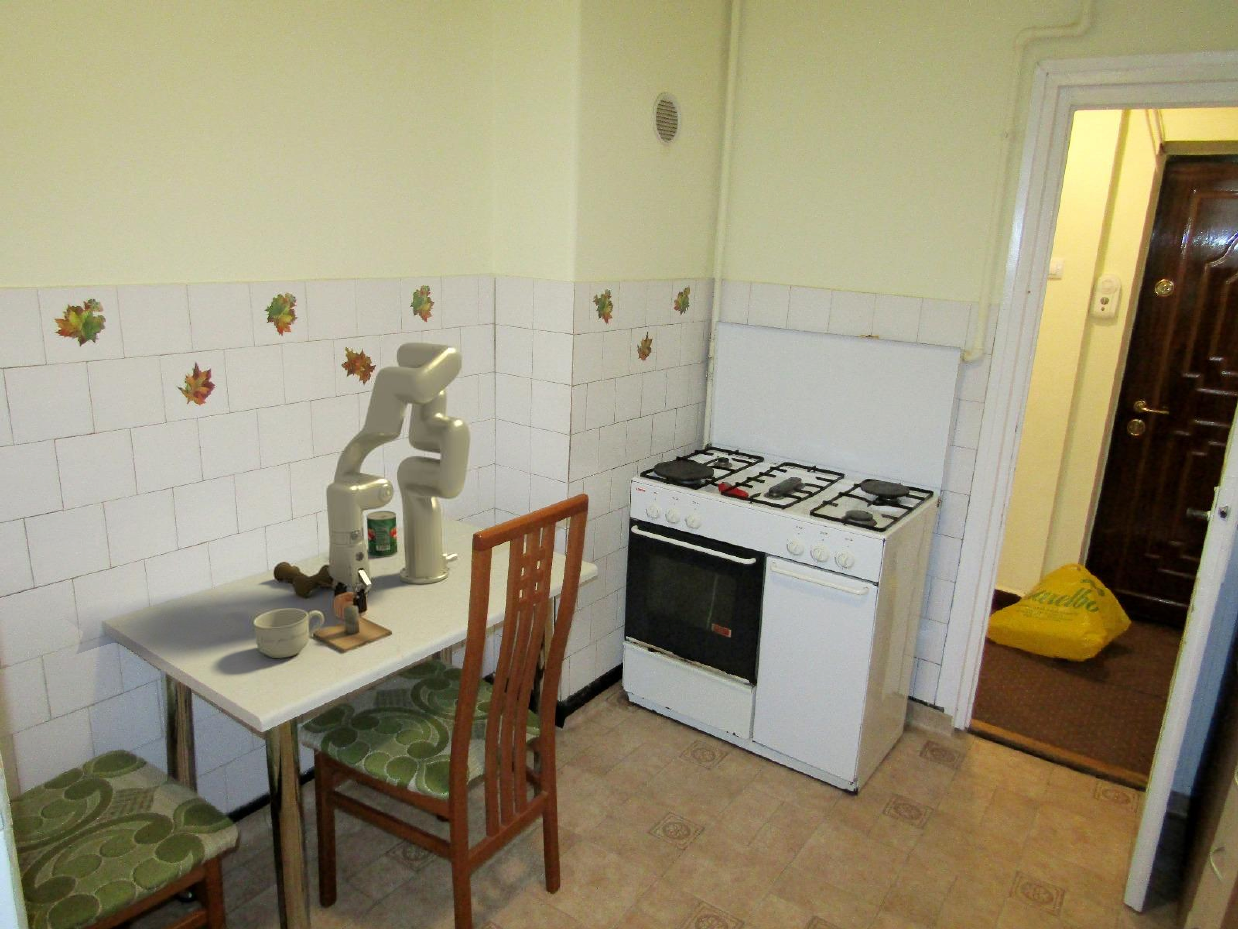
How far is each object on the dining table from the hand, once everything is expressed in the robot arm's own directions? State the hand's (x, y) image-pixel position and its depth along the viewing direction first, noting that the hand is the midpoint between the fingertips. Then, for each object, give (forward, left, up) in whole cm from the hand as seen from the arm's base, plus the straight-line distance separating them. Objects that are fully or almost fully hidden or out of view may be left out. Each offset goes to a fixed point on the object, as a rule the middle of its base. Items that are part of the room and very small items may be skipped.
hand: (350, 607), depth 206 cm
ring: (0, 0, -1) cm, 1 cm away
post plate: (+7, +11, -1) cm, 13 cm away
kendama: (-1, -21, -2) cm, 21 cm away
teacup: (+20, +8, -1) cm, 21 cm away
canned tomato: (-29, -28, -1) cm, 40 cm away
